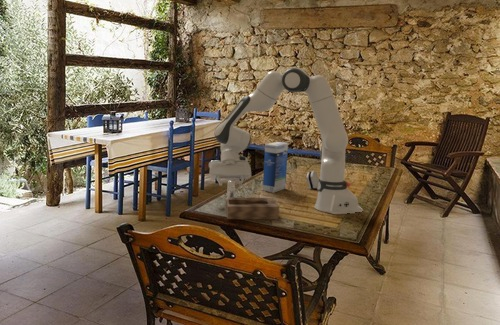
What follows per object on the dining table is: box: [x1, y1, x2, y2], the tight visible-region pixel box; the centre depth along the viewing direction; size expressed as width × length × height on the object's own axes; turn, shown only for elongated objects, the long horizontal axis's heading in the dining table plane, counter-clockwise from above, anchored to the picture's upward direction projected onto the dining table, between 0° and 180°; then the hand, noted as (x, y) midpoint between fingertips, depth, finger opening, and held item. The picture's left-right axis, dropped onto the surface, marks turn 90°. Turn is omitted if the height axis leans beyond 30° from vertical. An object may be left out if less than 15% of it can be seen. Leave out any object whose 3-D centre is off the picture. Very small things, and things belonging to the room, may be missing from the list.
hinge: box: [306, 170, 320, 191], centre depth 248 cm, size 17×5×10 cm, turn 162°
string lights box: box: [262, 141, 289, 194], centre depth 234 cm, size 13×8×26 cm, turn 146°
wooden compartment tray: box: [224, 197, 280, 220], centre depth 189 cm, size 22×14×6 cm, turn 97°
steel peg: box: [226, 179, 236, 198], centre depth 200 cm, size 6×6×12 cm
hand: (230, 185), depth 203 cm, fingers open, 8 cm apart
